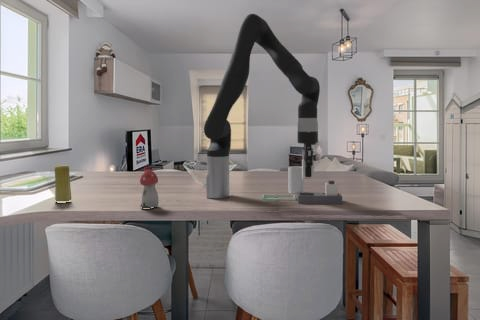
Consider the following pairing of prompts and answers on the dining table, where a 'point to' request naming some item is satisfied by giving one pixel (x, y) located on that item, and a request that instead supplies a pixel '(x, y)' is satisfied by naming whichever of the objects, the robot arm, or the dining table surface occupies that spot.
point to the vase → (62, 183)
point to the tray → (274, 198)
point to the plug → (304, 170)
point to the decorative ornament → (149, 189)
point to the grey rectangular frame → (318, 198)
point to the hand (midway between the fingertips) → (307, 175)
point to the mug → (295, 179)
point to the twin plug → (331, 188)
